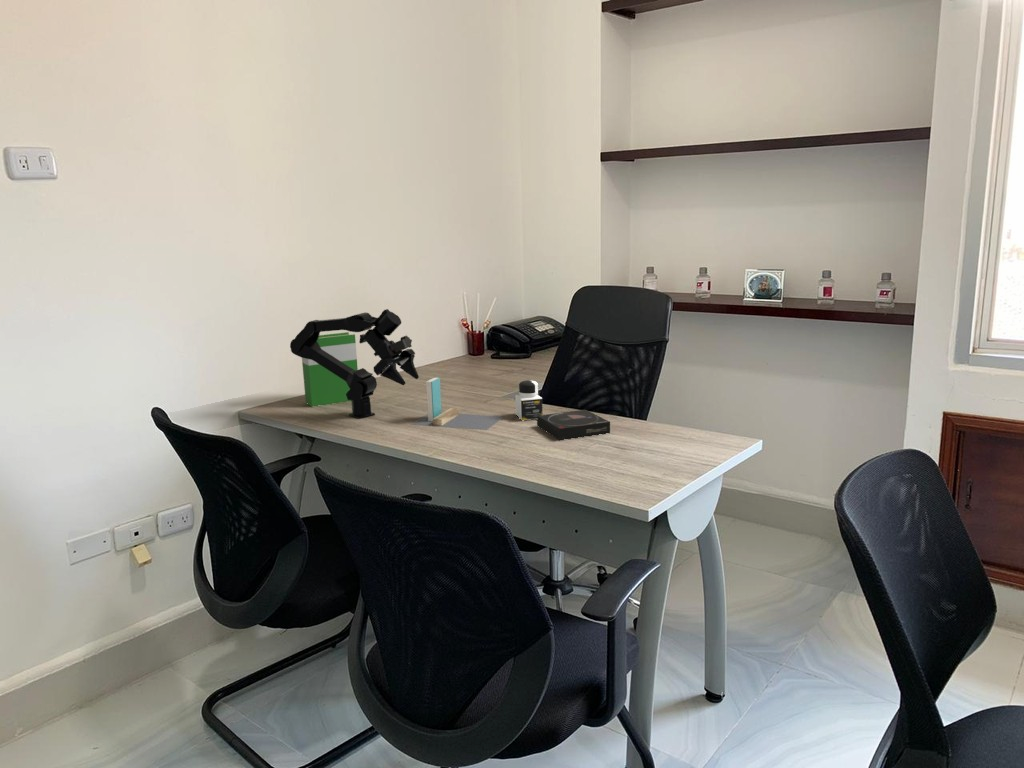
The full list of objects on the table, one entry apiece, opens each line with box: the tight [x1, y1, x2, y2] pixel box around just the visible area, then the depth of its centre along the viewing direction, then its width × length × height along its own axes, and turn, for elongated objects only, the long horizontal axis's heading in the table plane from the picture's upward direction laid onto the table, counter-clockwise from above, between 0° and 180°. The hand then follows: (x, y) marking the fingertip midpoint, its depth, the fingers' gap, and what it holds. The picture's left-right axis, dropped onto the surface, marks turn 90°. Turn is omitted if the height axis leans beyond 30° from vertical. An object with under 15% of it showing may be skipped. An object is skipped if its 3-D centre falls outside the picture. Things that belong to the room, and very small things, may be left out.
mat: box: [410, 413, 505, 431], centre depth 246 cm, size 26×16×1 cm, turn 71°
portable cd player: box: [536, 409, 611, 441], centre depth 234 cm, size 16×17×4 cm
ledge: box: [433, 407, 460, 426], centre depth 247 cm, size 3×14×2 cm, turn 161°
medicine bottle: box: [514, 379, 544, 421], centre depth 248 cm, size 7×7×12 cm
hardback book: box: [301, 331, 359, 407], centre depth 275 cm, size 18×7×24 cm, turn 122°
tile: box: [425, 377, 443, 421], centre depth 247 cm, size 2×6×13 cm, turn 161°
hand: (411, 381), depth 248 cm, fingers open, 9 cm apart
